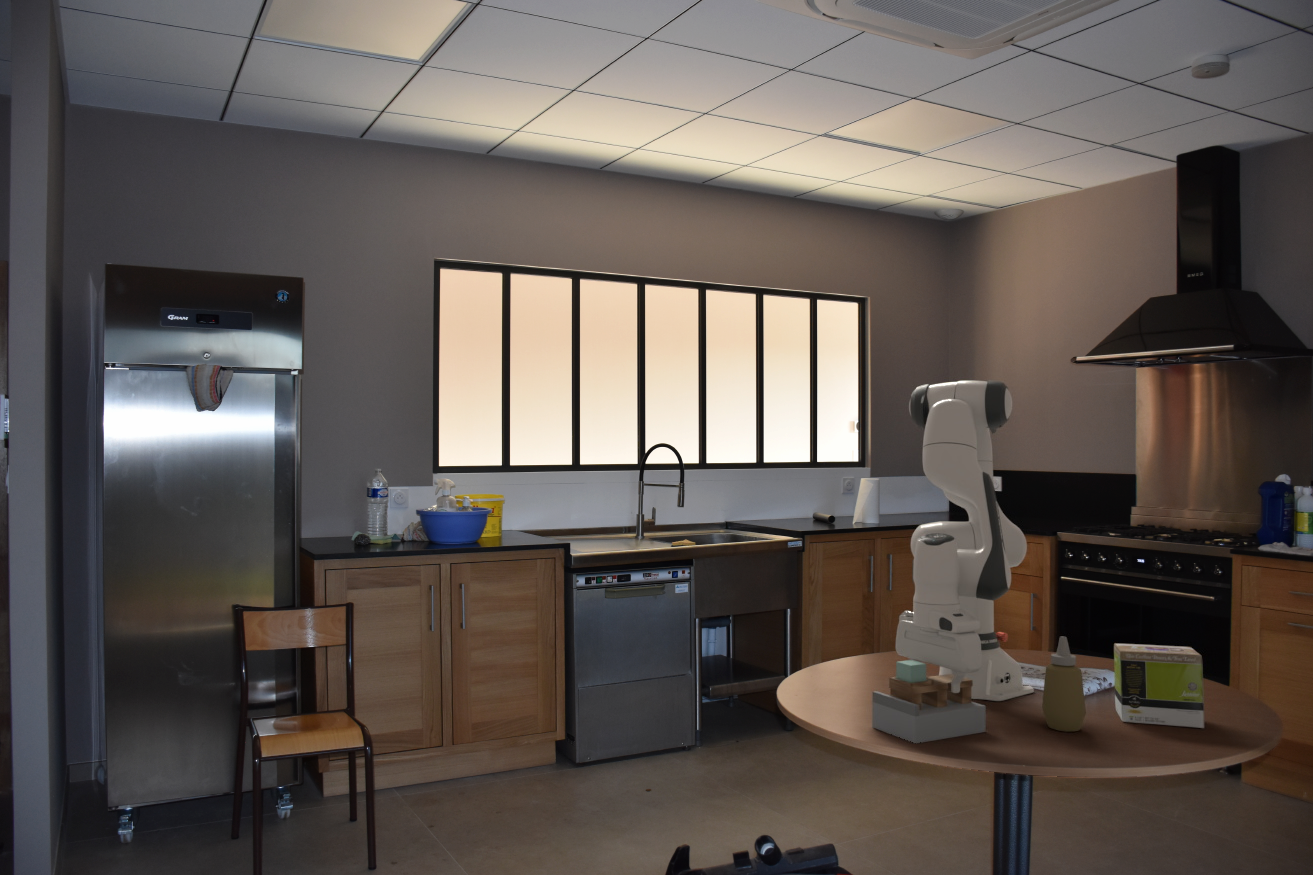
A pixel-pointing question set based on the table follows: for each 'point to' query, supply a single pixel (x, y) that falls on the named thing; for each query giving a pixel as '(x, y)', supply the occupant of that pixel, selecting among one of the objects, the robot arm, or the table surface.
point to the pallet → (931, 691)
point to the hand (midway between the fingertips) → (936, 686)
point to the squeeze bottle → (1063, 691)
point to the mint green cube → (911, 671)
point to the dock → (926, 718)
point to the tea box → (1159, 685)
